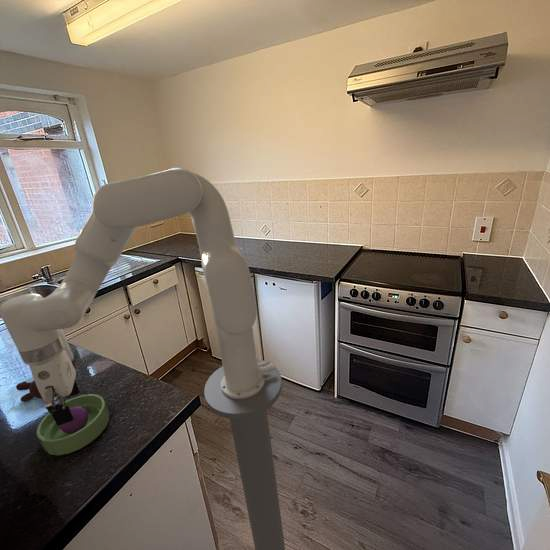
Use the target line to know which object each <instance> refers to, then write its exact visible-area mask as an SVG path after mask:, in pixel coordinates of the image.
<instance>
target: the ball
mask: <svg viewBox="0 0 550 550" xmlns="http://www.w3.org/2000/svg"><path fill="white" fill-rule="evenodd" d="M70 411H71V413H72V415H73V421H70V422H68V423H65V424H62V425H59V426H60V429H61V430H62V431H63V432H65V433H68V434H72V433H75V432H77V431H79V430H81V429H82V428H84V427H85V425H86V424H87V422H88V412H87V411H86V410H85V409H84V408H82V407H72V408H70Z"/></svg>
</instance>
